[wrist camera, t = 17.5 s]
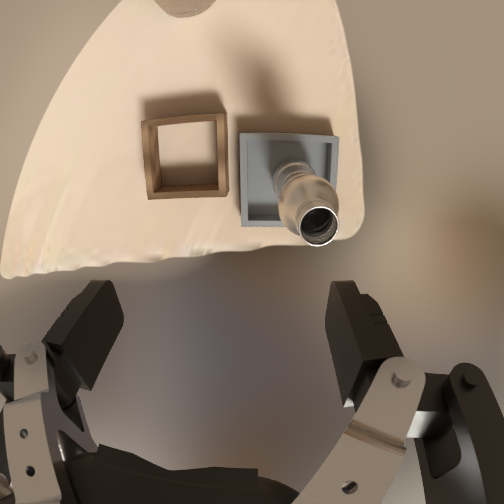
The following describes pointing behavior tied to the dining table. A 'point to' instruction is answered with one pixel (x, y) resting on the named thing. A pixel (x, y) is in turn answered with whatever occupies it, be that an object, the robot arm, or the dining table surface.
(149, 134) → the walnut collar
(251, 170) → the grey tray
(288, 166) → the plastic bottle
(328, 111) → the dining table surface
